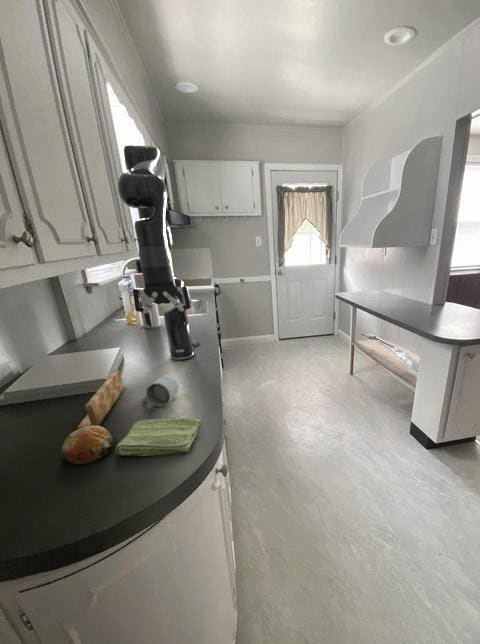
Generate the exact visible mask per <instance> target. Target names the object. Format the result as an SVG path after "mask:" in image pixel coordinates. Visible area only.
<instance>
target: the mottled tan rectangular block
mask: <svg viewBox="0 0 480 644" xmlns="http://www.w3.org/2000/svg"><path fill="white" fill-rule="evenodd" d="M123 391H124V384H123V380H122V377H121V373H120V370H118V369H117V370H113V372H112V373H111V374H110V375H109V377H107V378H106V380H105V381H104V383H103V384H102V385H101V386H100V387H99V388H98V389H97V391H96V392H95V394H93V395H92V397H91V398H90V400H88V401H87V403H86V404H85V405H84V406H85V411H86V413H87V414H86V415H85V417H84V418H83V420H82V421H81V422H80V423H79V425H78V426H77V430H78V429H80V428H83V427H87V426H100V425H101V424H102V422H103V421H104V419H105V418H106V416H107V415H108V413H109V412H110V411H111V409H112V408H113V406H114V405H115V403H116V401H117V400H118V399H119V397H120V395H121V394H122V393H123Z"/></svg>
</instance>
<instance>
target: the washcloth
mask: <svg viewBox="0 0 480 644" xmlns="http://www.w3.org/2000/svg"><path fill="white" fill-rule="evenodd" d="M201 423H202V421H201V420H200V419H197V418H190V417H188V418H187V417H182V418H181V417H180V418H167V419H156V418H153V419H141V420H138V421H136V422H134V423H133V425H132V427H131V428H130V429H129V430H128V433H127V435H126V436H125V437H123V438H122V439H121V440H120V442H118V443H117V445H116V448H115V453H116V454H117V455H119V456H140V457H146V456H147V457H149V456H157V455H158V456H160V455H170V454H178V453H180V454H181V453H188V452H190V451H189V450H190V448H191V446H192V444H193V441H195V438H196V436H197V434H198V430H199V428H200V425H201Z"/></svg>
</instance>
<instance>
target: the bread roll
mask: <svg viewBox="0 0 480 644" xmlns="http://www.w3.org/2000/svg"><path fill="white" fill-rule="evenodd" d="M113 441H114V439H113V437H112V434H111V433H110V431H109V430H108V429H106V428H105V427H103V426H100V425H99V426H87V427H83V428H80V429H78V428H77V429H76V430H74V431H73V432H71V433H70V434H68V436H67V437H66V439H65V440H64V442H63V444H62V448H61V452H62V454H63V456H64V458H65V459H66V460H67V461H68V462H69V463H72V464H75V465H86V464H90V463H92V462H93V463H94V462H95V461H97V460H99V459H102V458H103V457H104V456H106V455H108V453H109V452H110V451H111V449H112V447H113Z"/></svg>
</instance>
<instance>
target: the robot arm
mask: <svg viewBox="0 0 480 644" xmlns="http://www.w3.org/2000/svg"><path fill="white" fill-rule="evenodd" d="M122 153H123V161H124V164H125V168H126V171H124V172H122V174H120V176H119V178H118V181H117V191H118V195H119V197H120V199H121V201H122V202H123V203H124V204H125V205H126V206H128V207H129V208H131V209H137V211H138V212H137V213H138V218H139V219H137V220H135V222H134V231H135V232H134V233H135V236H136V241H137V247H138V257H139V264H140V268H141V273H142V278H143V282H144V288H140V287H135V288H134V289H132V296H133V297H132V298H133V303H134V310H135V311H136V312H139V313H142V314H143V315H144V320H145V324H146V325H147V326H148V327H149V328H152V327H154V320H153V314H152V312H151V309H152V307H153V306H154V304H156V305H162V304H166V305H169V304H172V305H173V307H171V308H168V309H167V310H165V311H163V319H164V324H165V325H164V326H165V330H166V336H167V341H168V348H169V353H170V359H171V360H174V361H184V360H188V359H192V358H193V357H194V355H195V354H194V349H193V347H197V346H199V344H200V342H199V341H197V342H196V343H194V342H192V341H193V340H192V336H191V330H190V322H189V318H188V317H189V316H188V311H187V310H189V309H191V308H192V299H191V296H190V291H189V287H188V285H184V281H183V280H182V278H181V277H175V275H174V268H173V261H172V256H171V251H172V248H173V239H172V238H173V237H172V233H171V227H170V224H169V222H168V220H167V219H166V211H167V210H166V209H167V201H168V187H167V185H166V182H165V181H164V180H165V179H166V166H165V161H164V157H163V154H162V152H161V151H160V149H159V148H157V147H156V146H151V145H132V144H131V145H129V144H128V145H124V147H123V152H122ZM144 294H145V295H146V296H147V297H148V301H147V302H146V305H145V306H143V301H142V297H143V296H144Z"/></svg>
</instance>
